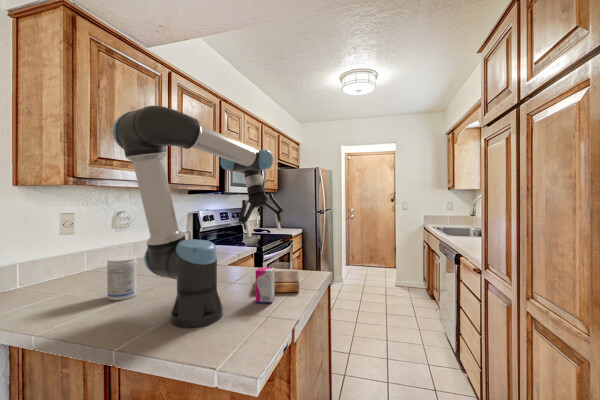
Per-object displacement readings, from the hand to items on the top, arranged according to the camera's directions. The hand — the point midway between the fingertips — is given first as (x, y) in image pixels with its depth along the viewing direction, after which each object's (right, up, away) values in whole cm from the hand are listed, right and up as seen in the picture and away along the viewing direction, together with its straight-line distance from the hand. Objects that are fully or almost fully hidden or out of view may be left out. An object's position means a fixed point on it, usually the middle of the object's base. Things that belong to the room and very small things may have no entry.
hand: (264, 233), depth 121 cm
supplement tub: (-51, -22, -15) cm, 58 cm away
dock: (+6, -22, -3) cm, 23 cm away
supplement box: (+3, -22, -20) cm, 30 cm away
